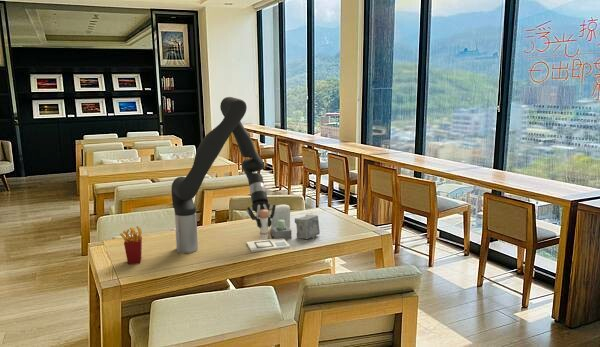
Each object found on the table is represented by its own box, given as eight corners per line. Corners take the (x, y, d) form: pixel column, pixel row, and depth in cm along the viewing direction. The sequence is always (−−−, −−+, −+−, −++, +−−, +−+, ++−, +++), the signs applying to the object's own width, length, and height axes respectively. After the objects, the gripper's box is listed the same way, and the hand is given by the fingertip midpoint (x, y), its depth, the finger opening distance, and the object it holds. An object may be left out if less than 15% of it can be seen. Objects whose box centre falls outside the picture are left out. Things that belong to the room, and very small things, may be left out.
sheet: (251, 252, 209) (251, 250, 209) (246, 243, 220) (246, 241, 219) (290, 247, 215) (290, 245, 214) (283, 239, 225) (283, 237, 225)
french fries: (142, 264, 196) (139, 230, 193) (121, 265, 195) (118, 231, 191) (144, 256, 205) (142, 223, 202) (124, 257, 203) (121, 224, 200)
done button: (278, 234, 227) (278, 222, 225) (276, 231, 230) (276, 220, 228) (285, 233, 228) (285, 221, 226) (283, 231, 231) (283, 219, 229)
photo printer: (287, 225, 246) (286, 202, 243) (291, 227, 242) (291, 204, 240) (269, 228, 240) (269, 205, 237) (274, 231, 237) (273, 207, 234)
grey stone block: (307, 232, 235) (307, 212, 233) (320, 236, 230) (320, 215, 227) (294, 237, 228) (294, 216, 226) (306, 241, 223) (306, 220, 220)
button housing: (275, 240, 224) (275, 232, 223) (271, 234, 232) (271, 226, 231) (291, 238, 227) (291, 230, 226) (286, 232, 234) (286, 225, 233)
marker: (260, 239, 213) (260, 212, 210) (258, 236, 217) (258, 209, 214) (269, 238, 215) (268, 211, 212) (267, 235, 218) (266, 208, 215)
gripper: (244, 191, 216) (250, 224, 207) (274, 188, 220) (281, 221, 212) (242, 199, 222) (248, 232, 214) (271, 196, 226) (278, 228, 218)
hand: (264, 226), depth 213 cm, fingers closed on marker, 3 cm apart
